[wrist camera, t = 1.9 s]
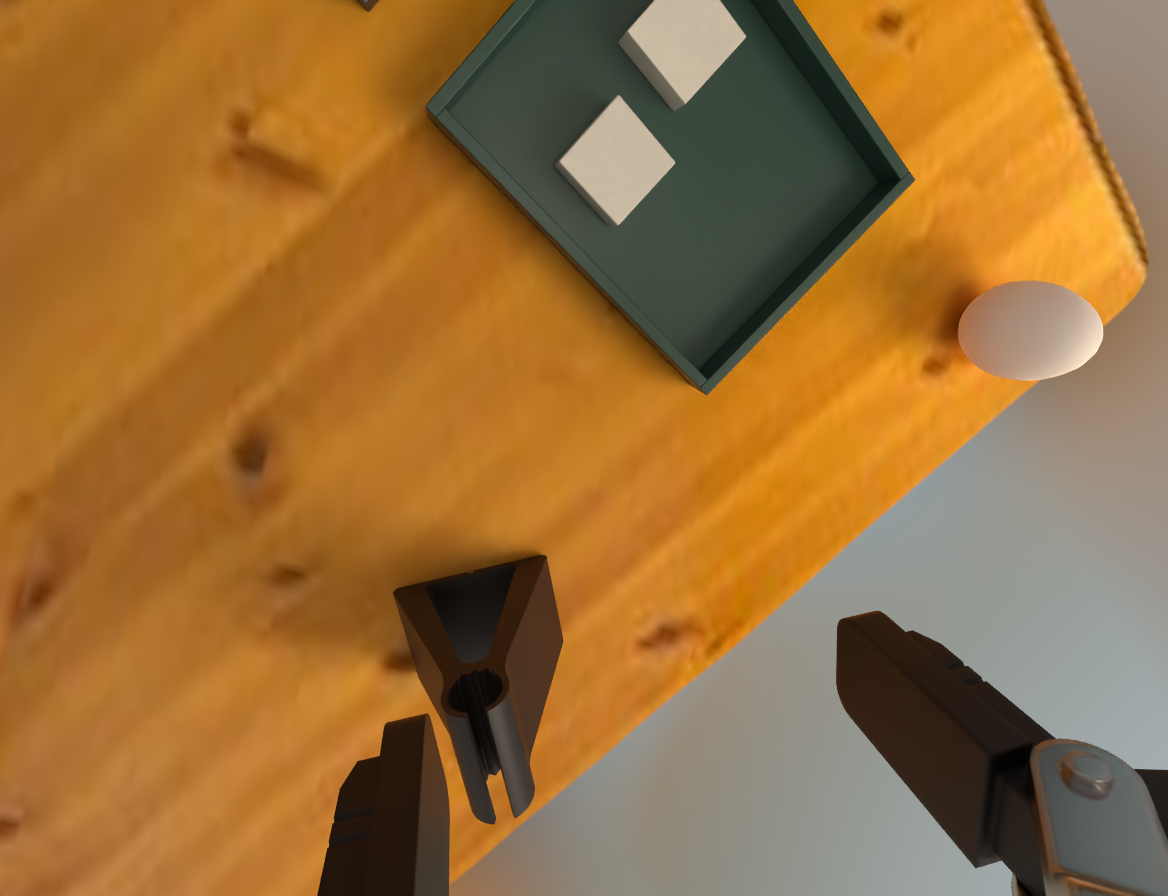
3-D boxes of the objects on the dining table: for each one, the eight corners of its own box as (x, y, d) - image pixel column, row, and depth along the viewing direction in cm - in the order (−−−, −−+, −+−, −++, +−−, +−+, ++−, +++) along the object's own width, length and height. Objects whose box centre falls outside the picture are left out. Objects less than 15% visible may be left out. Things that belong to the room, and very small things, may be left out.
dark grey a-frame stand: (546, 553, 37) (583, 686, 26) (562, 637, 39) (603, 794, 28) (393, 588, 36) (364, 742, 25) (418, 672, 38) (401, 850, 27)
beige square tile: (552, 165, 31) (558, 161, 29) (609, 102, 30) (618, 93, 28) (609, 226, 32) (618, 226, 30) (664, 166, 32) (676, 162, 30)
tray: (426, 116, 29) (424, 106, 27) (654, -149, 28) (670, -182, 26) (692, 386, 36) (706, 395, 34) (887, 183, 34) (915, 179, 32)
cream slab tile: (617, 42, 29) (626, 30, 28) (677, -25, 29) (690, -42, 27) (673, 111, 31) (685, 104, 29) (730, 48, 30) (747, 36, 29)
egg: (991, 258, 37) (1119, 261, 30) (1024, 329, 39) (1151, 348, 32) (918, 316, 37) (1027, 333, 30) (954, 384, 39) (1065, 416, 32)
